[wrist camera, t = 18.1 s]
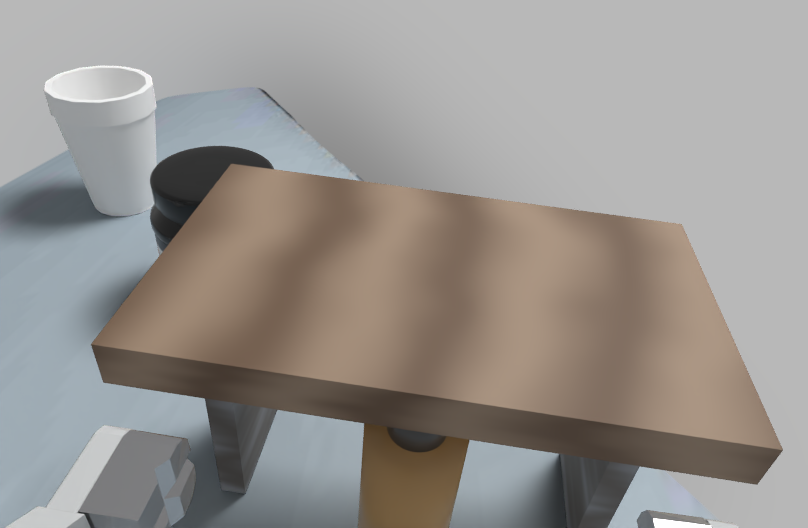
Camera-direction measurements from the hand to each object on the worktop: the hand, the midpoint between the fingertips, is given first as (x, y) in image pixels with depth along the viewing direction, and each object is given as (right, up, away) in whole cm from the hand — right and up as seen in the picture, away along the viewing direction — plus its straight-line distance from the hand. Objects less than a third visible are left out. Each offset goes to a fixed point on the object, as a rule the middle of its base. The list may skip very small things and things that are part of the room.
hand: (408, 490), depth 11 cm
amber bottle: (0, -13, +26) cm, 29 cm away
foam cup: (-30, +11, +54) cm, 63 cm away
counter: (0, -12, +27) cm, 30 cm away
